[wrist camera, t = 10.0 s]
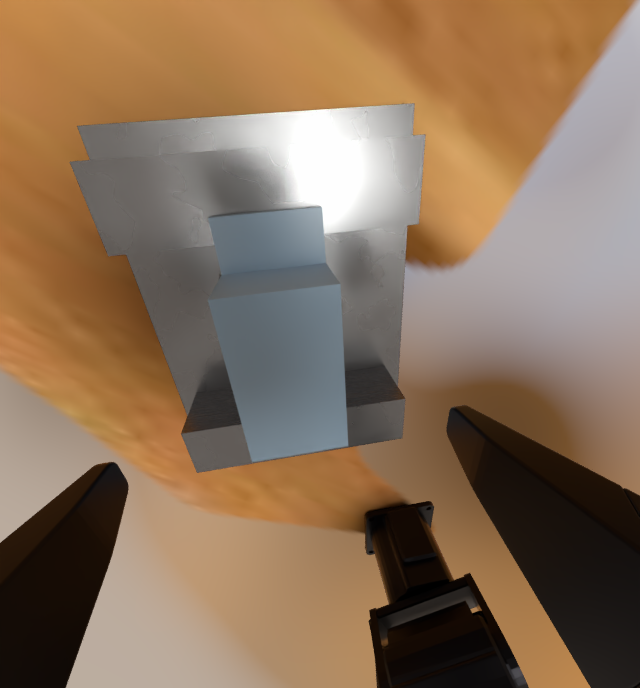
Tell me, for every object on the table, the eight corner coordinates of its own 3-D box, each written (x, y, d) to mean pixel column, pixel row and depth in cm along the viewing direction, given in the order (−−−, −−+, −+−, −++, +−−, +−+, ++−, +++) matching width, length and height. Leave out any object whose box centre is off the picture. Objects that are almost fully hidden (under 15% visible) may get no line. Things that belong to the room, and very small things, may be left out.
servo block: (224, 209, 14) (187, 228, 8) (309, 201, 14) (337, 213, 8) (264, 395, 19) (260, 493, 13) (325, 386, 20) (349, 477, 13)
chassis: (393, 409, 22) (416, 452, 19) (201, 440, 21) (186, 492, 17) (409, 106, 14) (458, 78, 10) (85, 128, 12) (9, 105, 9)
